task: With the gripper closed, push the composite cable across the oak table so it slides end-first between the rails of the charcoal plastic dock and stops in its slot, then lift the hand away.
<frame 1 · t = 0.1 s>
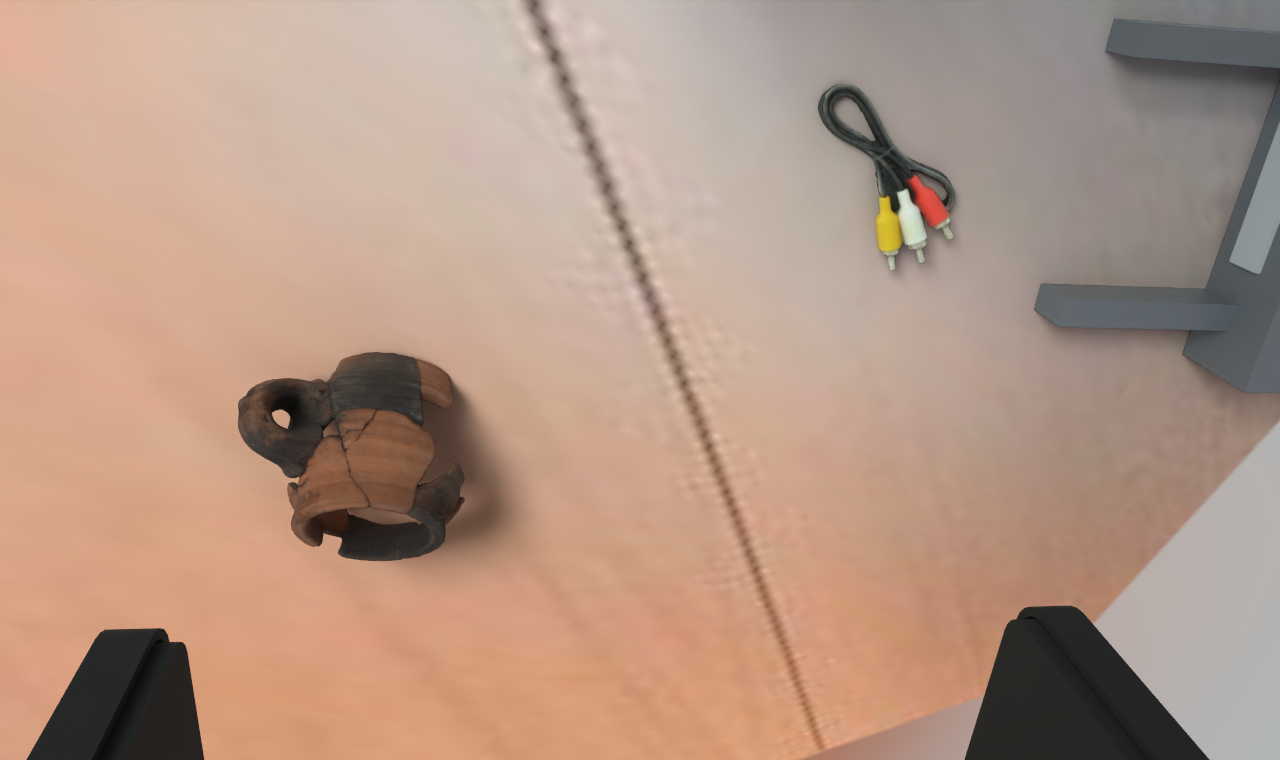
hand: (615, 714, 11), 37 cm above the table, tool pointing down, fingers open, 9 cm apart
dock: (1243, 182, 50), on the table
composite cable: (884, 160, 47), on the table
pottery mug: (366, 421, 49), on the table
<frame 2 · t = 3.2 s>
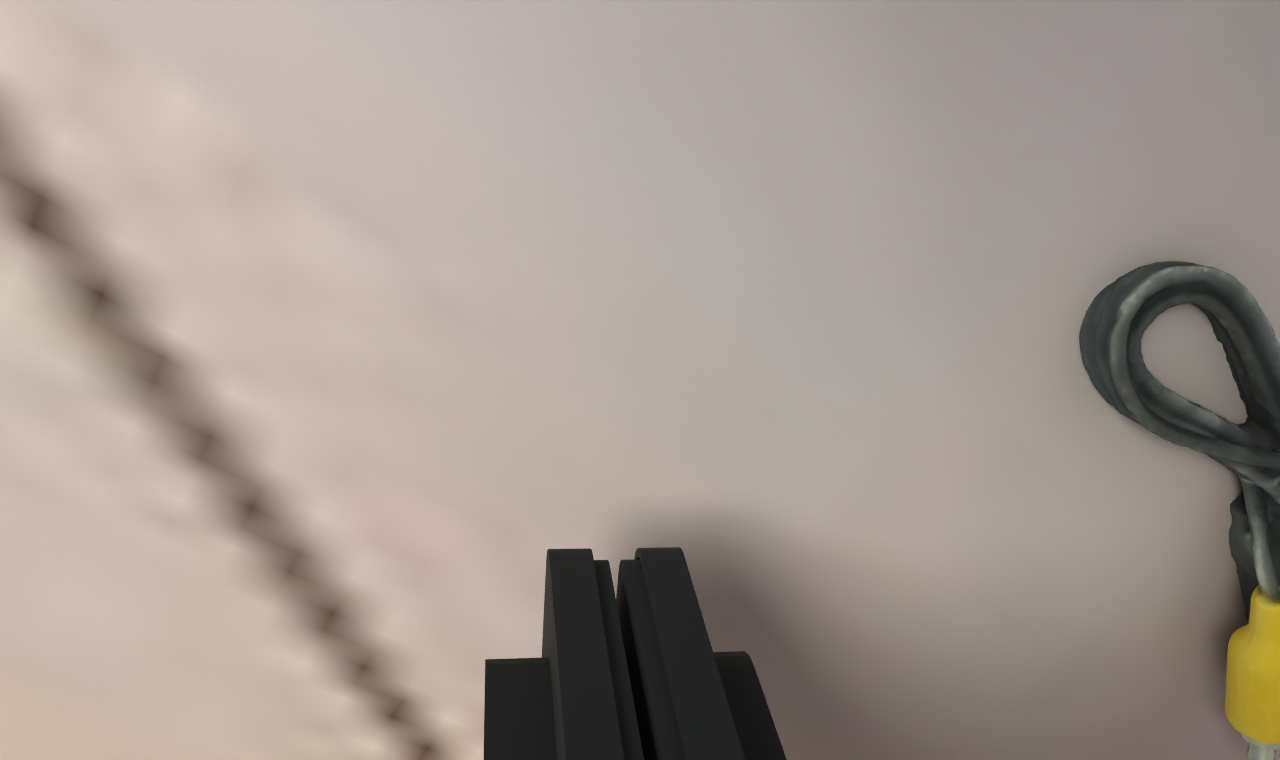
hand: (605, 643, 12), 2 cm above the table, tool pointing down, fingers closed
composite cable: (1251, 459, 15), on the table
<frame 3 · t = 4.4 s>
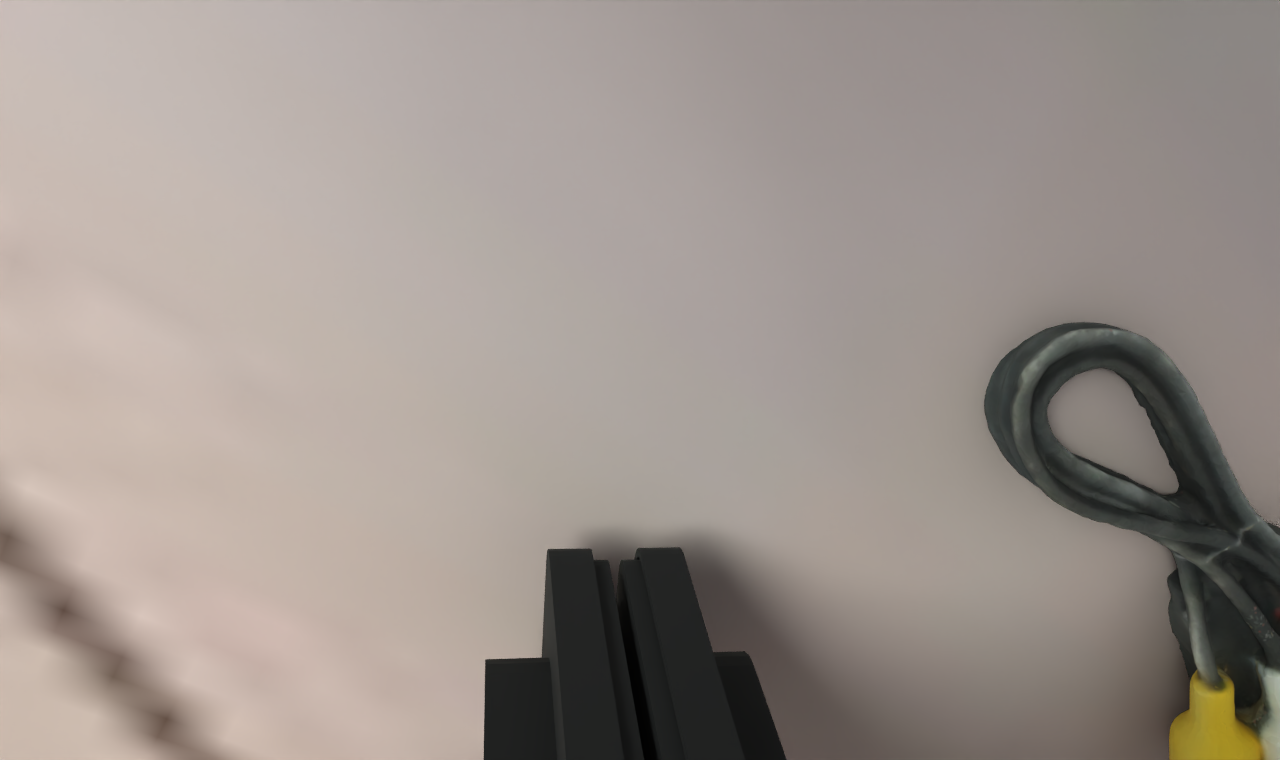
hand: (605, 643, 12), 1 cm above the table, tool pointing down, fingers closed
composite cable: (1191, 527, 14), on the table
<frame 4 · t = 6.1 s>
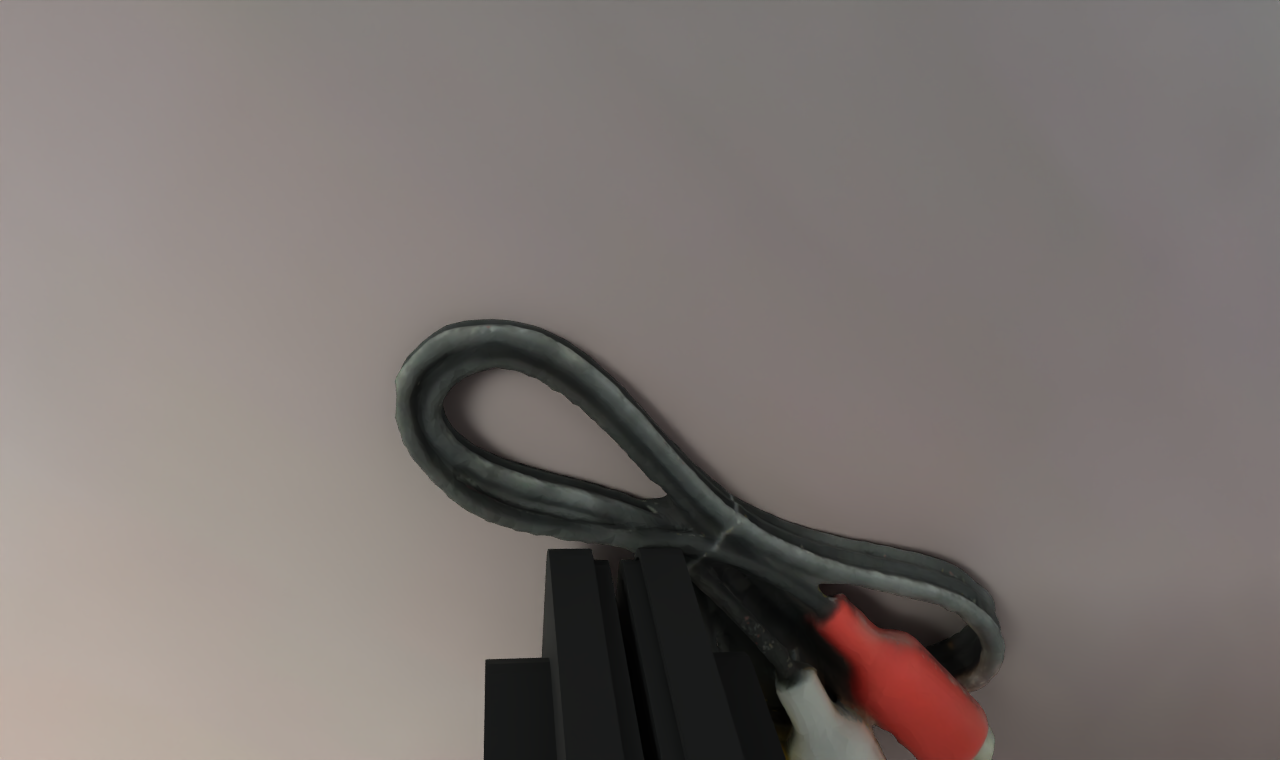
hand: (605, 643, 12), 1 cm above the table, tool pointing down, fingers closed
composite cable: (731, 530, 13), on the table, touching gripper
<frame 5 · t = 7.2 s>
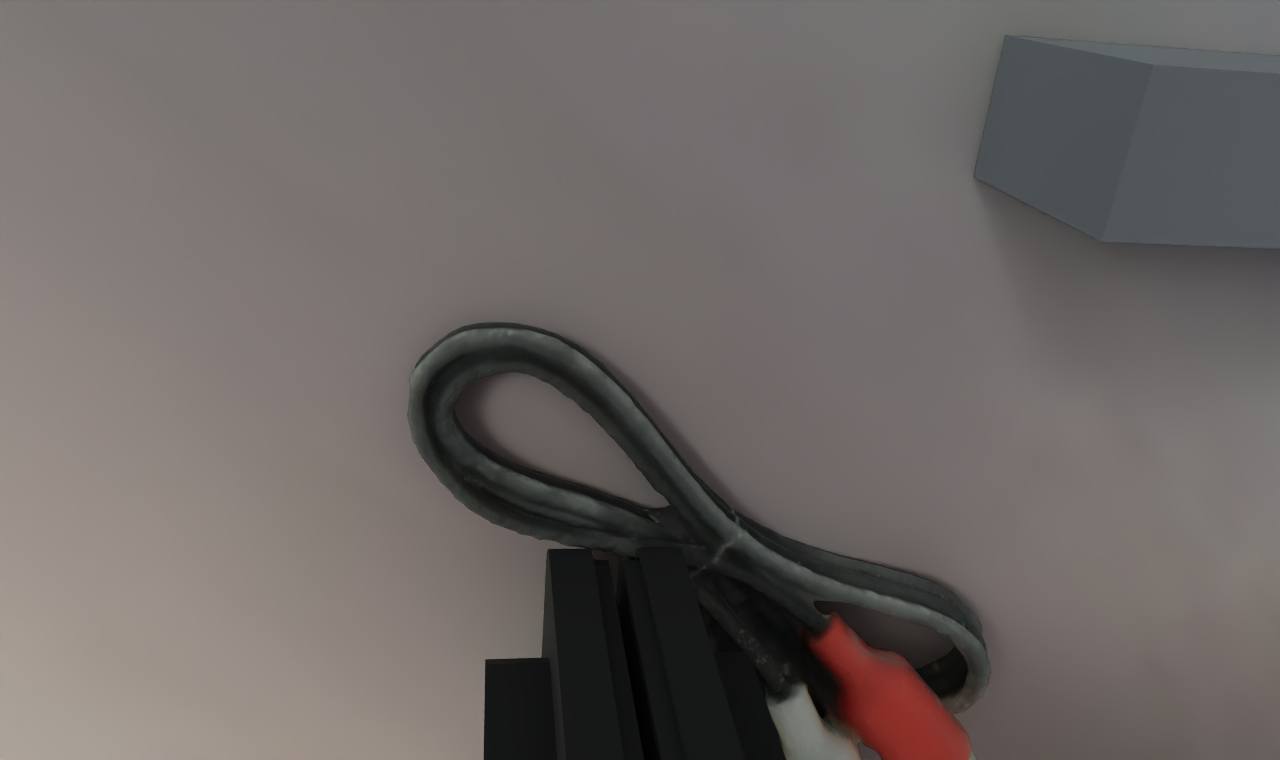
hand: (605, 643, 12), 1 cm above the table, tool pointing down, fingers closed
composite cable: (728, 542, 13), on the table, touching gripper
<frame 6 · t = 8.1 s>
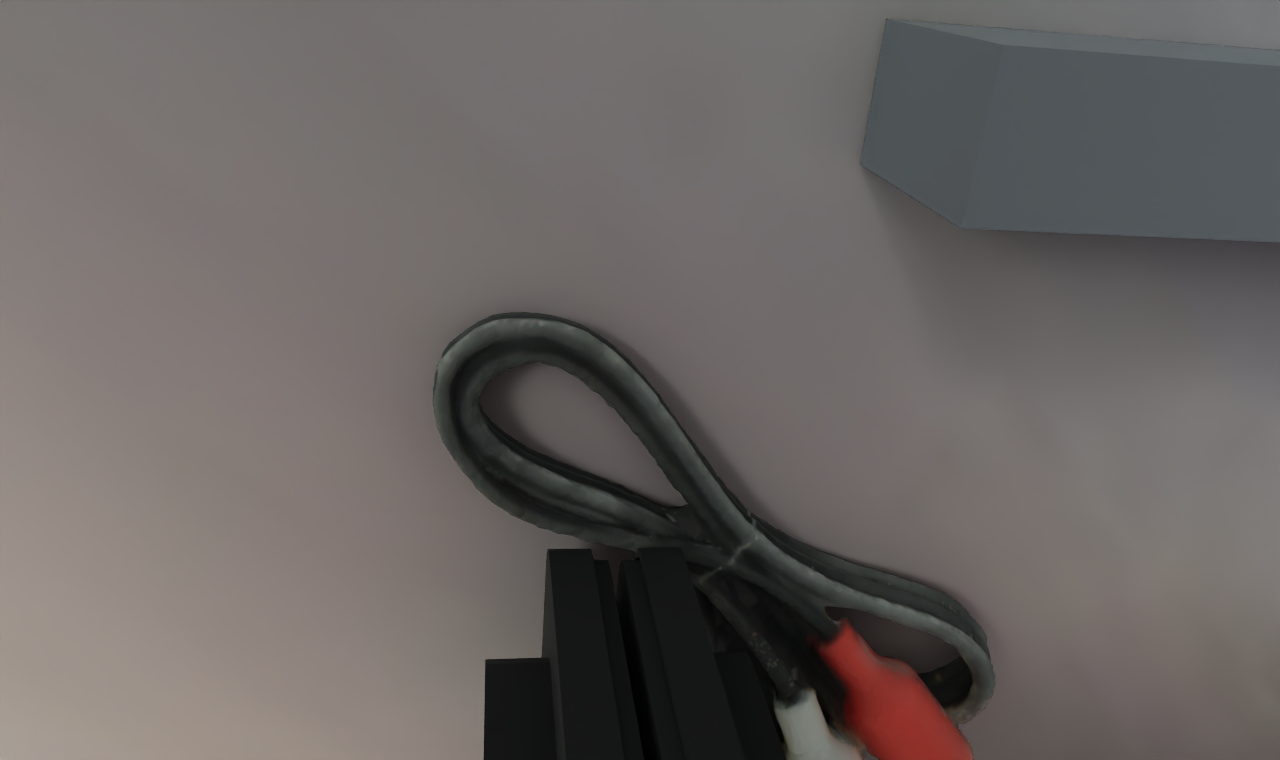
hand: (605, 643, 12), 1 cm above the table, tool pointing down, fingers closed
composite cable: (739, 545, 13), on the table
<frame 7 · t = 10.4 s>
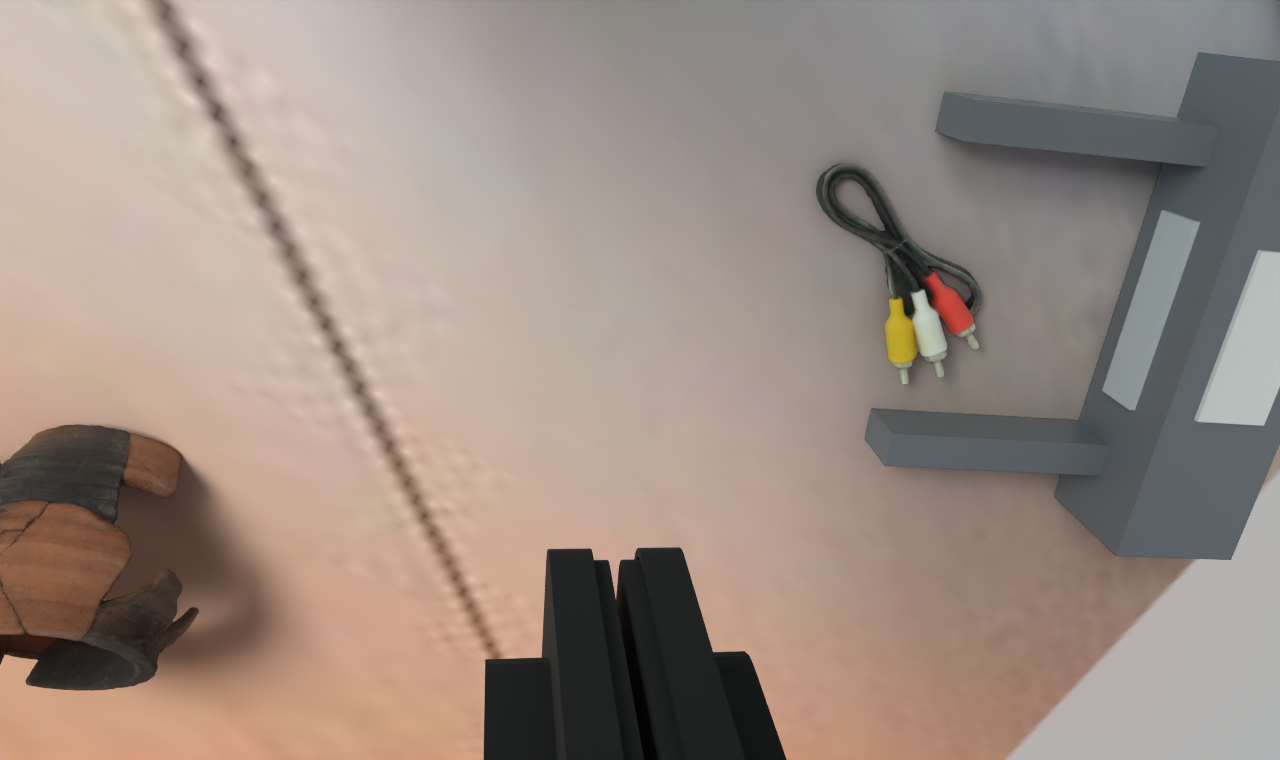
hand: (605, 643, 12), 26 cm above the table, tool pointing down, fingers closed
dock: (1119, 295, 40), on the table
composite cable: (896, 253, 39), on the table
pottery mug: (81, 510, 39), on the table
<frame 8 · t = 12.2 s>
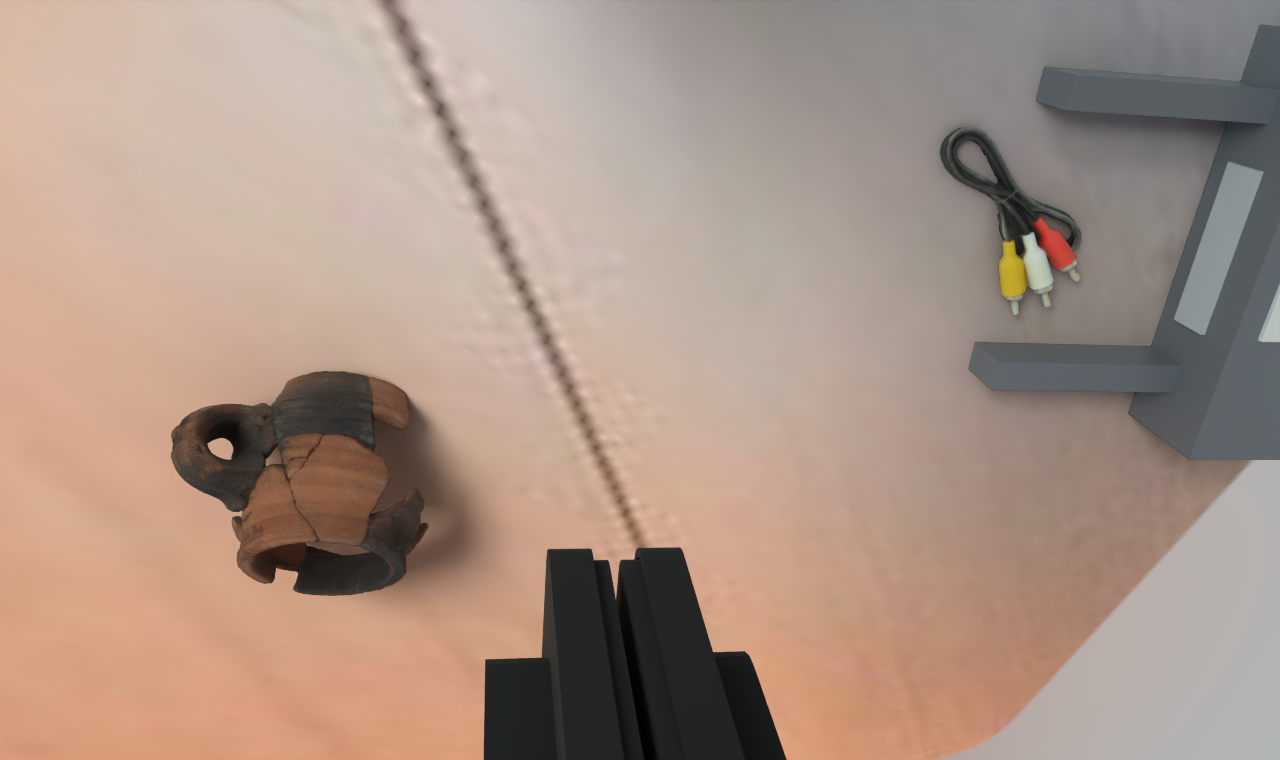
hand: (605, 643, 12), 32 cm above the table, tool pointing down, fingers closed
dock: (1188, 236, 47), on the table
composite cable: (1006, 202, 45), on the table
pottery mug: (320, 445, 46), on the table
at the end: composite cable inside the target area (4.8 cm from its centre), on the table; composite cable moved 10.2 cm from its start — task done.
